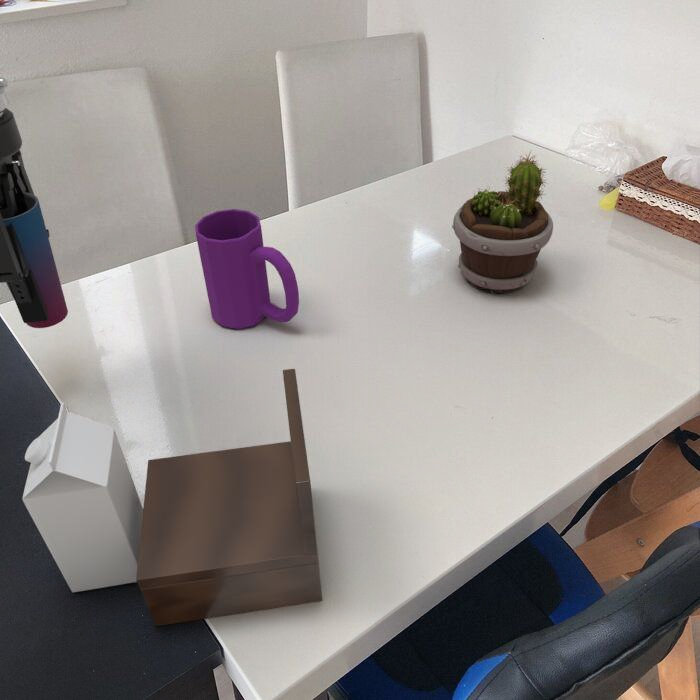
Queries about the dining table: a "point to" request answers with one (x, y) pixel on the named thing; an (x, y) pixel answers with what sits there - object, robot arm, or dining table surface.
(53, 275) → the cup
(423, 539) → the dining table surface
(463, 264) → the flowerpot
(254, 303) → the mug
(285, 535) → the wooden box with backboard
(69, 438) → the milk carton
